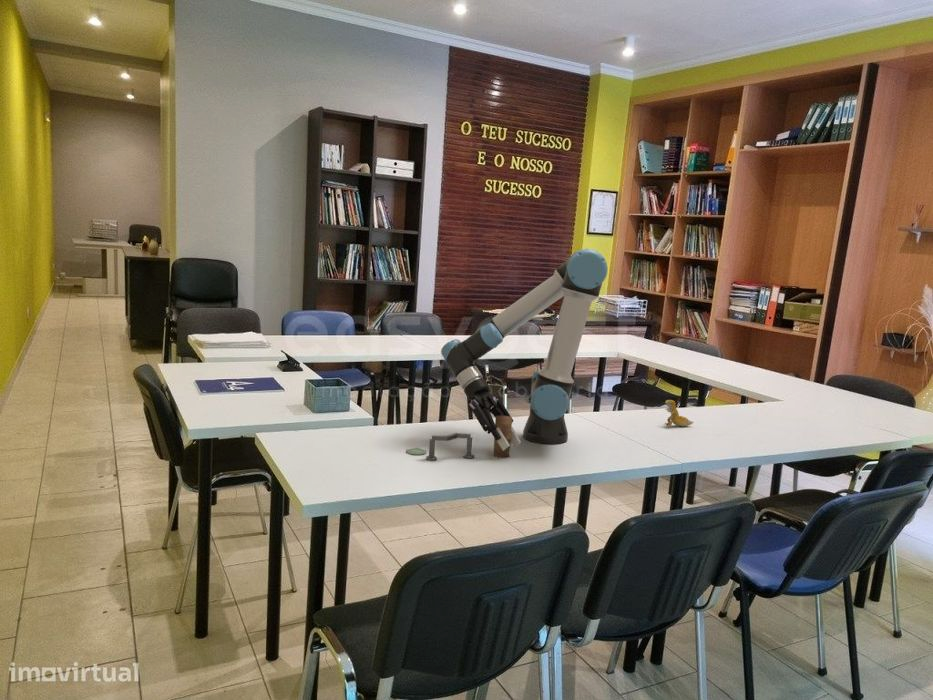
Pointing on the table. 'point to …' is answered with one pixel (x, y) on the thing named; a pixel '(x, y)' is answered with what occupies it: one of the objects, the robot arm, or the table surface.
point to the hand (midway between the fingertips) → (511, 446)
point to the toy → (676, 416)
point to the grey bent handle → (447, 438)
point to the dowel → (505, 427)
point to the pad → (416, 451)
